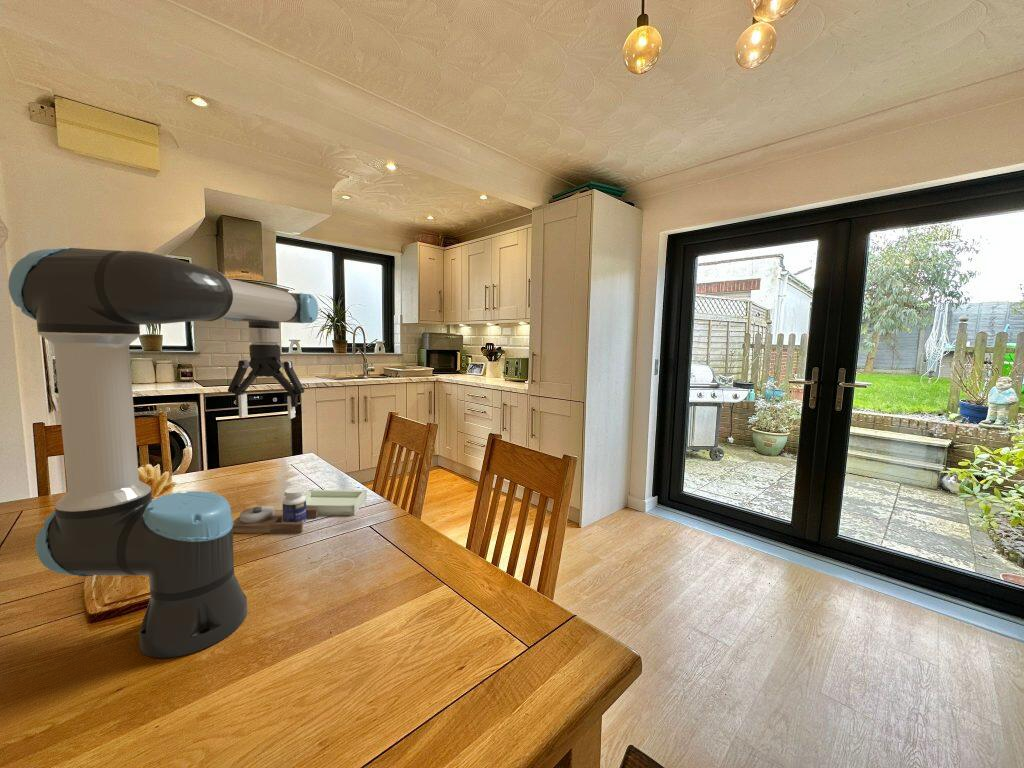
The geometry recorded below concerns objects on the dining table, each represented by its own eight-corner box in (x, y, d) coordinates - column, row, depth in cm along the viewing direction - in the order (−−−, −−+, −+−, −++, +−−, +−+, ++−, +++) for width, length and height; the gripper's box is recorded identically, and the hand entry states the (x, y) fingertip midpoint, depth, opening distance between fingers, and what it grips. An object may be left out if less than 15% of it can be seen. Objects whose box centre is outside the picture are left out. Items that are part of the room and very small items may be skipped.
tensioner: (301, 533, 107) (300, 516, 107) (227, 532, 106) (226, 515, 106) (317, 516, 117) (317, 501, 117) (250, 516, 116) (249, 500, 116)
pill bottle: (299, 529, 109) (298, 494, 108) (278, 529, 109) (277, 493, 108) (310, 520, 115) (309, 486, 114) (290, 519, 115) (289, 485, 114)
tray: (354, 515, 119) (353, 505, 118) (291, 515, 118) (290, 505, 118) (366, 499, 131) (366, 490, 130) (309, 498, 130) (309, 489, 129)
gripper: (315, 344, 120) (317, 415, 122) (228, 342, 119) (231, 414, 121) (303, 345, 112) (305, 420, 115) (210, 342, 111) (214, 419, 113)
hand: (267, 417), depth 118 cm, fingers open, 13 cm apart
